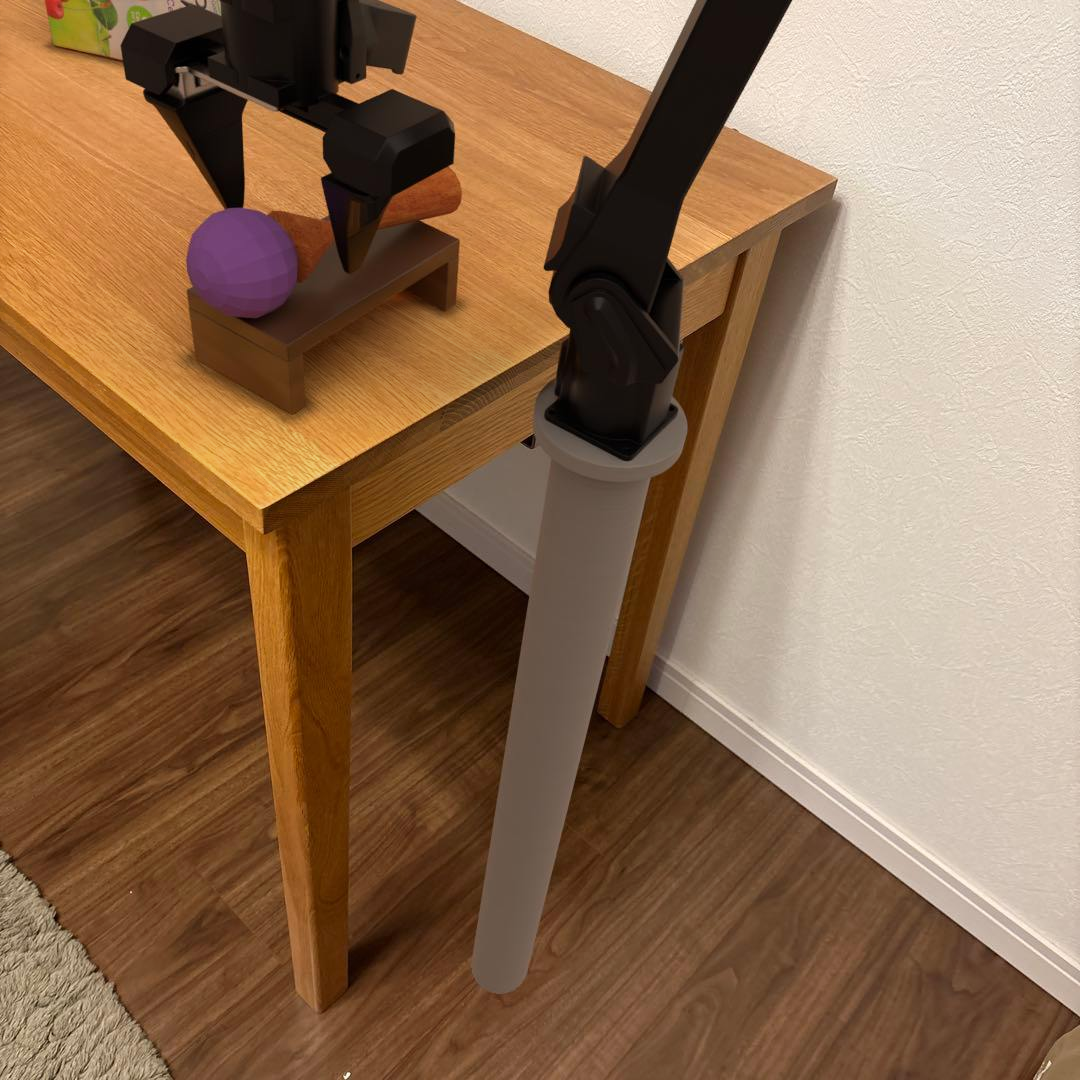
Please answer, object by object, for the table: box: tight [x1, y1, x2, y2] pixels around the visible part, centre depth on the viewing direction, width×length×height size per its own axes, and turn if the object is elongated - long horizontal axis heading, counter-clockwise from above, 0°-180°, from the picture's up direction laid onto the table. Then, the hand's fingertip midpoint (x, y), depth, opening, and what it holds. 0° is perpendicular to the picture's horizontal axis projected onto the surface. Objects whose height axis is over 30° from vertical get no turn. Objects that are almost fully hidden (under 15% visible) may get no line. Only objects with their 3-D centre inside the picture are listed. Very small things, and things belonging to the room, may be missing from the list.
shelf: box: [186, 214, 461, 415], centre depth 69 cm, size 8×16×5 cm, turn 146°
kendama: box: [185, 166, 463, 318], centre depth 65 cm, size 6×6×20 cm
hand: (292, 240), depth 63 cm, fingers open, 9 cm apart
